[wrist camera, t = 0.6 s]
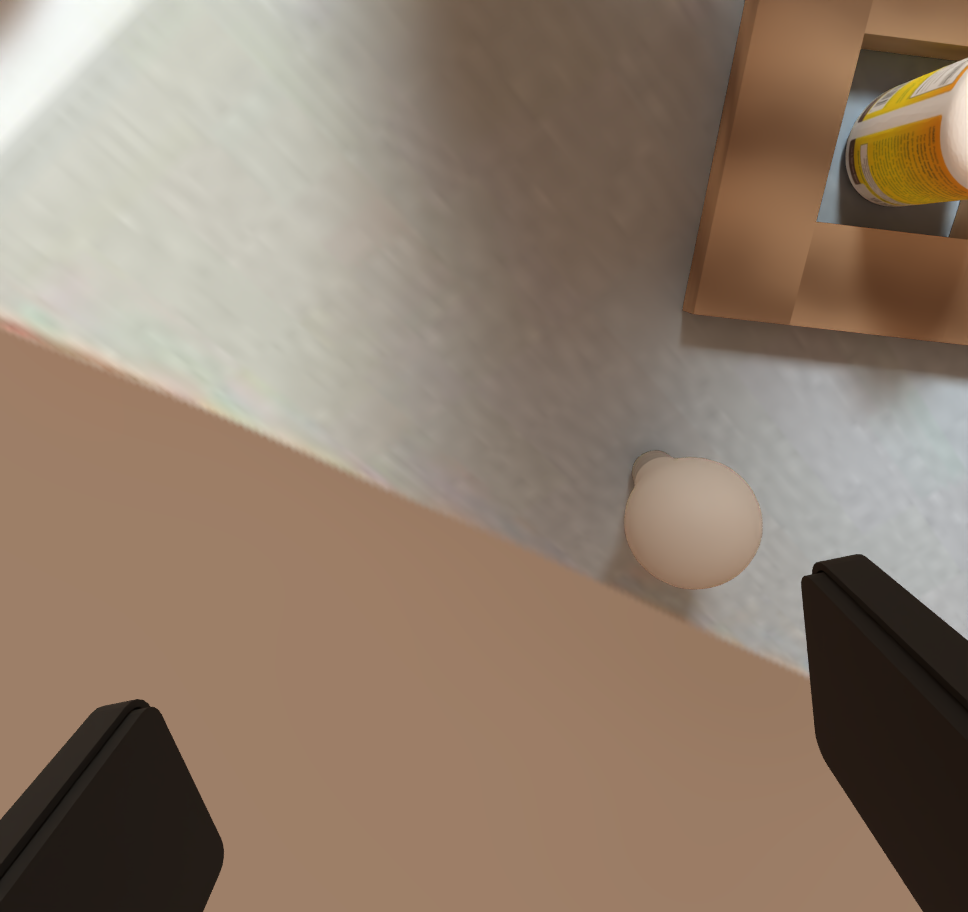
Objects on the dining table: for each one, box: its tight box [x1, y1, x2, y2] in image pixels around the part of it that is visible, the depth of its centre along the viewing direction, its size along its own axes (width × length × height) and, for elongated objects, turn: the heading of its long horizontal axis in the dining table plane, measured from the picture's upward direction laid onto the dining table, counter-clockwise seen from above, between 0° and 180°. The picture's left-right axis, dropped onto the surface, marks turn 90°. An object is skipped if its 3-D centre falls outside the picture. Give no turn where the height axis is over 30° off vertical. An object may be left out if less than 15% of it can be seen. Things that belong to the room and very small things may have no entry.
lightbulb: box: [624, 450, 762, 589], centre depth 32 cm, size 6×6×11 cm
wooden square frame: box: [682, 0, 968, 345], centre depth 31 cm, size 18×18×2 cm
